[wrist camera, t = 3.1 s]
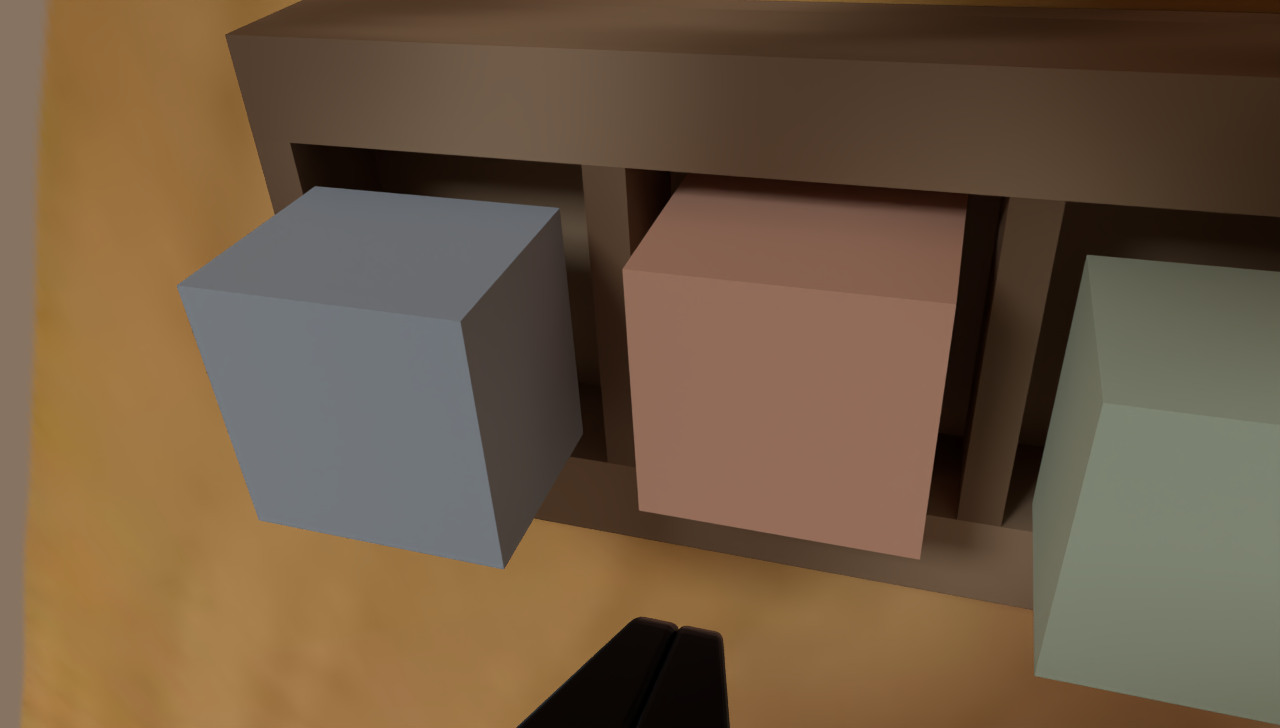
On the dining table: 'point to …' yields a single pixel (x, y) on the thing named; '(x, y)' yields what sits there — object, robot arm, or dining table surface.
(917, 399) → the button terracotta
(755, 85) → the brown wooden compartment tray
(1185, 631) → the button sage
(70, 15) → the dining table surface
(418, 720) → the dining table surface
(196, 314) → the button slate
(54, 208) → the dining table surface
